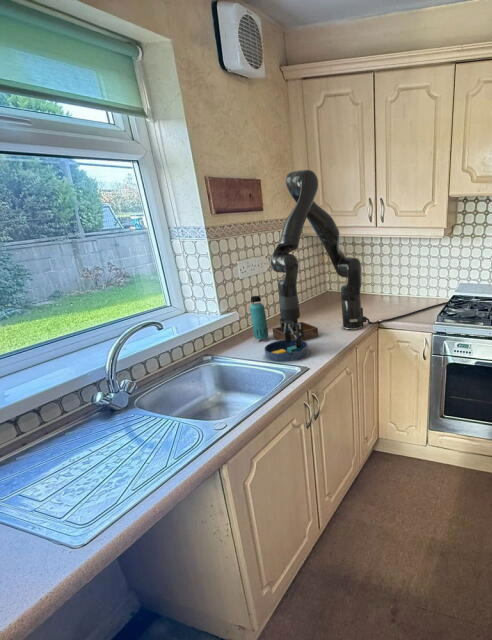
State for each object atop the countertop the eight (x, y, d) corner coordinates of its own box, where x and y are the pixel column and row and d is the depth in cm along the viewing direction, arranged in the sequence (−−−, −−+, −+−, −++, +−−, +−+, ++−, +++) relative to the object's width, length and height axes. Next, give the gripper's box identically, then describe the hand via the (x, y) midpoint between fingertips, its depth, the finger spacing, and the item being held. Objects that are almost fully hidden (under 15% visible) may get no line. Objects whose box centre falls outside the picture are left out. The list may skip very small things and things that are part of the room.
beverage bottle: (256, 343, 180) (249, 298, 172) (253, 339, 186) (246, 295, 177) (270, 341, 183) (264, 296, 175) (267, 337, 188) (261, 293, 180)
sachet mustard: (283, 353, 167) (282, 348, 166) (287, 355, 165) (286, 351, 164) (272, 356, 164) (271, 351, 163) (276, 358, 162) (275, 354, 161)
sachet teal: (298, 349, 171) (297, 344, 170) (302, 351, 169) (301, 346, 168) (287, 352, 168) (286, 347, 167) (291, 354, 166) (291, 349, 165)
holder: (303, 330, 196) (302, 321, 194) (318, 337, 187) (317, 327, 185) (273, 338, 187) (272, 328, 185) (288, 345, 177) (287, 335, 175)
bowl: (295, 345, 178) (294, 336, 176) (316, 355, 166) (316, 346, 164) (258, 354, 168) (257, 346, 166) (278, 366, 156) (277, 357, 154)
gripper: (307, 307, 158) (310, 347, 165) (288, 301, 168) (292, 339, 174) (289, 311, 153) (294, 351, 160) (272, 304, 163) (277, 343, 170)
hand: (293, 345), depth 167 cm, fingers open, 8 cm apart
